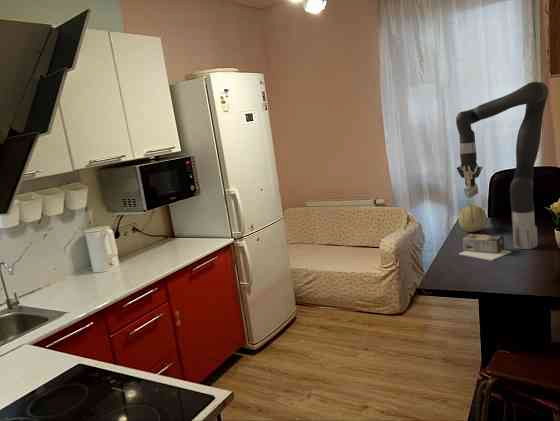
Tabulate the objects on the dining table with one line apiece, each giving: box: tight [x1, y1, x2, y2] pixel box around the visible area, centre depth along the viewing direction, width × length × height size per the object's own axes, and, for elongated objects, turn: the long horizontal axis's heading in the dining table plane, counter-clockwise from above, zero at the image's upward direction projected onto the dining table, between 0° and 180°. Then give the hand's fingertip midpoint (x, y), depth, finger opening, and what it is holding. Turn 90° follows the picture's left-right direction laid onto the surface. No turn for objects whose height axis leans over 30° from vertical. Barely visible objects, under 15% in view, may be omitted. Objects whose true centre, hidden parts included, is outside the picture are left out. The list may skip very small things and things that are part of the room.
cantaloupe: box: [458, 204, 488, 233], centre depth 250 cm, size 15×15×15 cm
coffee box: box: [462, 233, 505, 253], centre depth 217 cm, size 9×6×16 cm
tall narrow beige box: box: [463, 171, 479, 199], centre depth 228 cm, size 2×8×13 cm, turn 122°
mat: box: [458, 249, 512, 261], centre depth 213 cm, size 17×15×1 cm
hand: (470, 186), depth 228 cm, fingers closed on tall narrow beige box, 2 cm apart
